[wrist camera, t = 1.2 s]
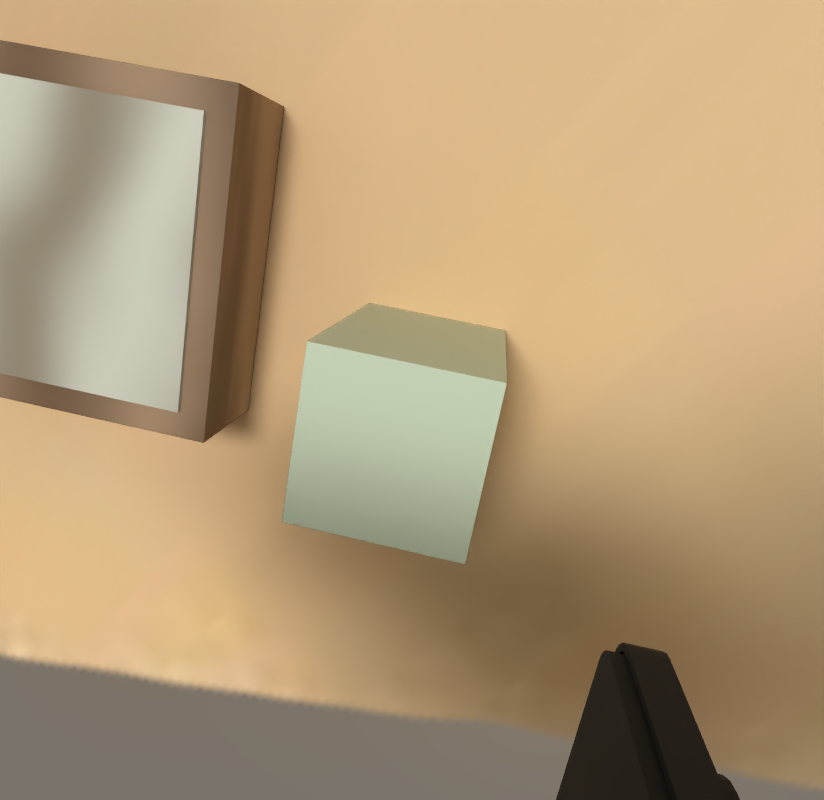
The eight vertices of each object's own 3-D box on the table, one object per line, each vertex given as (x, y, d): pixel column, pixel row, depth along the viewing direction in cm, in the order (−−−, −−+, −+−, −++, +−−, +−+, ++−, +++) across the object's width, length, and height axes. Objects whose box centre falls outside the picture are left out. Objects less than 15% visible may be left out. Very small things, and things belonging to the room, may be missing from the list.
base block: (283, 106, 23) (237, 81, 19) (248, 409, 26) (201, 444, 22) (-15, 52, 23) (-121, 18, 19) (-15, 352, 26) (-106, 375, 23)
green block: (505, 330, 24) (507, 382, 16) (476, 459, 25) (465, 564, 17) (369, 302, 24) (307, 341, 16) (348, 431, 25) (282, 521, 18)
